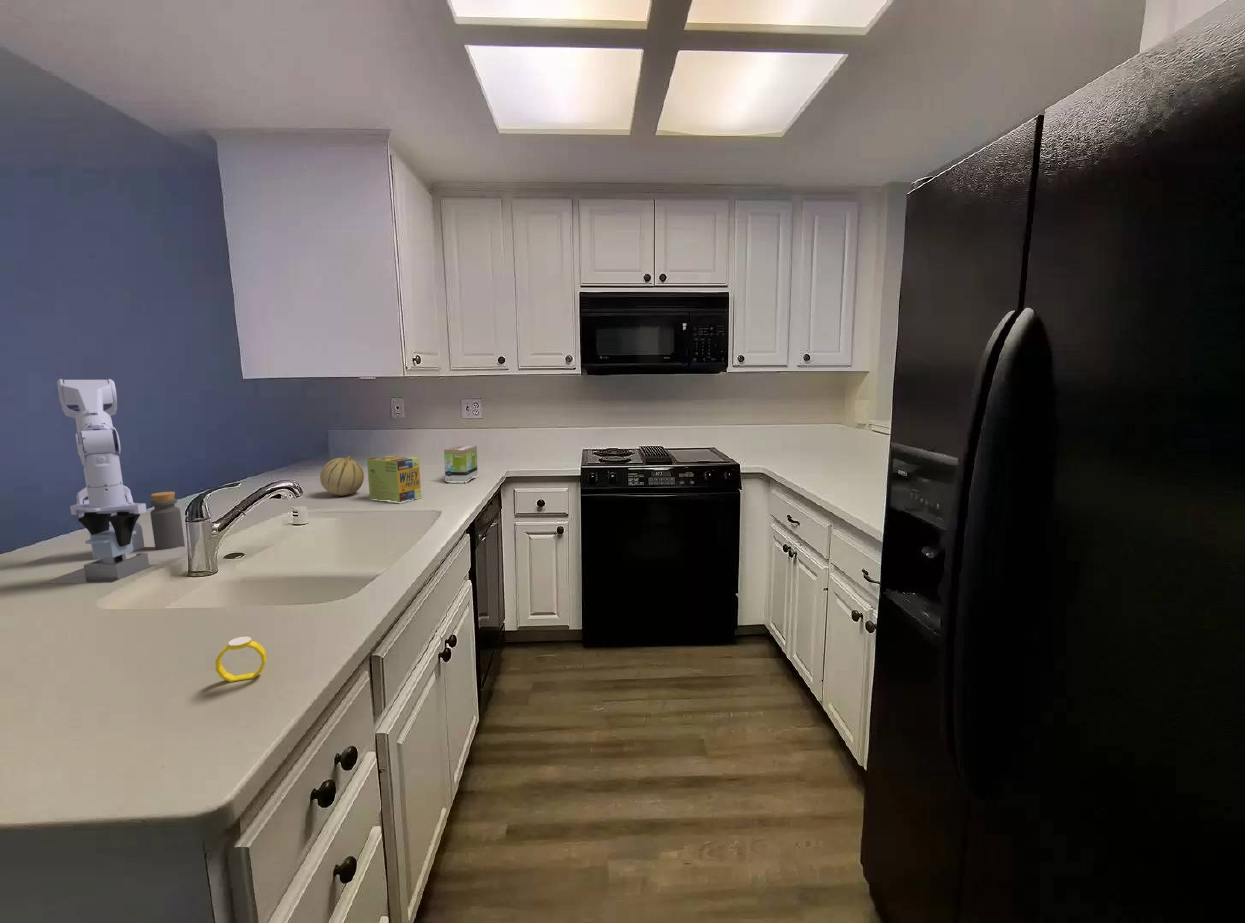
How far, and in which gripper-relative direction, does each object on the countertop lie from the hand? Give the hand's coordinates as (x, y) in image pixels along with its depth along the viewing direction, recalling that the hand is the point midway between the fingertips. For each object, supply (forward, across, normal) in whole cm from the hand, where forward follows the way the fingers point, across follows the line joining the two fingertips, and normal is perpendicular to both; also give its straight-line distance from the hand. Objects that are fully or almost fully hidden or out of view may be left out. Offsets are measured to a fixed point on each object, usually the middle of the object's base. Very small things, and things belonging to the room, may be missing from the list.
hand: (114, 545), depth 117 cm
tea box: (+8, +44, +115) cm, 123 cm away
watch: (+8, +56, -42) cm, 70 cm away
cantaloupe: (+8, +7, +86) cm, 87 cm away
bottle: (+8, -5, +20) cm, 22 cm away
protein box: (+8, +30, +78) cm, 84 cm away
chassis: (+8, -4, 0) cm, 8 cm away
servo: (+2, 0, 0) cm, 2 cm away
